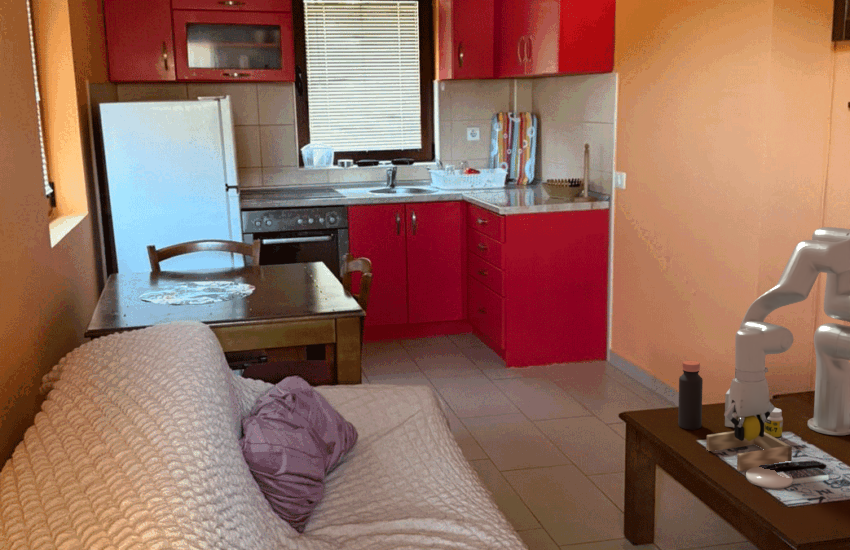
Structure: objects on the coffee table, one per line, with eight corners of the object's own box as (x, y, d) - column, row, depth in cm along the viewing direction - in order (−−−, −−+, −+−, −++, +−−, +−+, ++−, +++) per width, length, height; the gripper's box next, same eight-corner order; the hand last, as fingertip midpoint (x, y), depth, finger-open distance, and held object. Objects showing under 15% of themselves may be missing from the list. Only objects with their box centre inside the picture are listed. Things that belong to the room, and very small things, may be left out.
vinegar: (705, 428, 244) (707, 364, 241) (684, 431, 244) (685, 366, 240) (694, 421, 251) (696, 358, 247) (674, 423, 250) (675, 360, 246)
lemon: (761, 445, 220) (762, 417, 219) (740, 445, 222) (740, 417, 220) (758, 437, 226) (758, 409, 224) (736, 436, 227) (737, 409, 225)
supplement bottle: (761, 437, 236) (762, 410, 235) (767, 432, 240) (768, 405, 238) (778, 441, 233) (779, 413, 231) (784, 436, 236) (785, 409, 235)
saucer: (773, 467, 216) (773, 464, 216) (802, 484, 206) (802, 481, 206) (737, 473, 214) (737, 470, 213) (764, 491, 203) (764, 487, 203)
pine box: (755, 442, 233) (756, 427, 232) (791, 462, 219) (792, 447, 218) (706, 450, 229) (706, 435, 228) (739, 471, 215) (740, 455, 214)
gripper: (768, 365, 225) (767, 427, 229) (713, 374, 221) (713, 437, 225) (786, 373, 218) (785, 436, 222) (730, 383, 214) (730, 447, 218)
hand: (749, 436), depth 223 cm, fingers closed on lemon, 5 cm apart
